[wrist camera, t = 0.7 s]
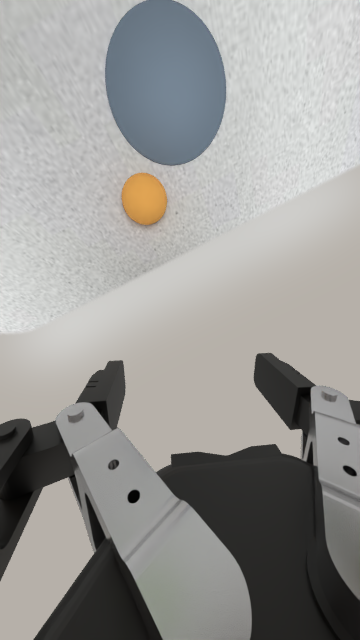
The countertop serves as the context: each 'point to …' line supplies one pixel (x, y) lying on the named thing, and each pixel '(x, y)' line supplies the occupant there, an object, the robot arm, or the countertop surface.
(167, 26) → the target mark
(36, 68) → the countertop surface
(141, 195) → the ball
